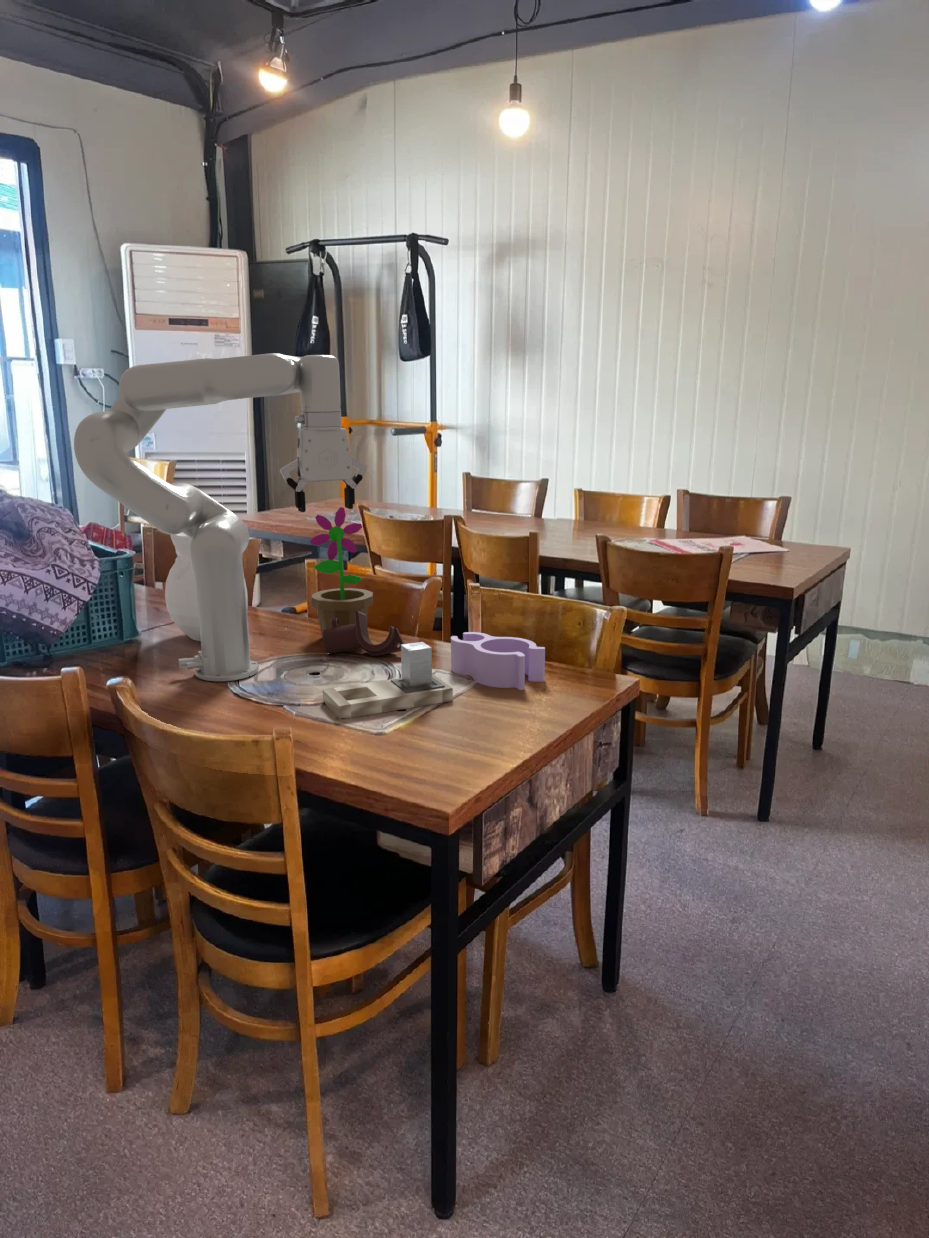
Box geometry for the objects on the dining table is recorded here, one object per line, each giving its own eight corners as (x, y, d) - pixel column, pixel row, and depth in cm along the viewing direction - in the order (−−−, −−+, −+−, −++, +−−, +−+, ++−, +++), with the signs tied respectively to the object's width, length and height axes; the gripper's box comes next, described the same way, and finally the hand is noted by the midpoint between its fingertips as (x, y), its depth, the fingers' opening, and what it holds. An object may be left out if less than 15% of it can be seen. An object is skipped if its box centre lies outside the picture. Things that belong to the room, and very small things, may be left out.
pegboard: (339, 719, 162) (339, 704, 161) (323, 702, 170) (322, 687, 170) (452, 700, 171) (452, 686, 170) (431, 685, 180) (431, 671, 179)
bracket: (401, 648, 195) (394, 603, 196) (325, 663, 197) (318, 617, 198) (407, 651, 201) (400, 607, 202) (333, 665, 203) (327, 621, 204)
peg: (410, 702, 170) (409, 650, 168) (402, 695, 174) (400, 644, 172) (432, 698, 172) (431, 647, 170) (423, 691, 176) (422, 641, 173)
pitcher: (152, 639, 213) (142, 532, 207) (214, 622, 228) (206, 522, 221) (205, 652, 203) (196, 540, 196) (267, 633, 217) (260, 529, 211)
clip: (437, 673, 188) (437, 640, 186) (477, 659, 197) (477, 628, 195) (514, 694, 175) (514, 659, 173) (552, 678, 184) (553, 645, 182)
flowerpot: (366, 627, 222) (362, 504, 215) (381, 642, 209) (378, 511, 202) (307, 632, 218) (301, 507, 210) (320, 648, 205) (313, 515, 197)
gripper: (282, 423, 170) (287, 515, 174) (370, 421, 177) (373, 509, 181) (272, 421, 176) (277, 510, 181) (358, 419, 183) (360, 505, 188)
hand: (325, 509), depth 181 cm, fingers open, 9 cm apart
